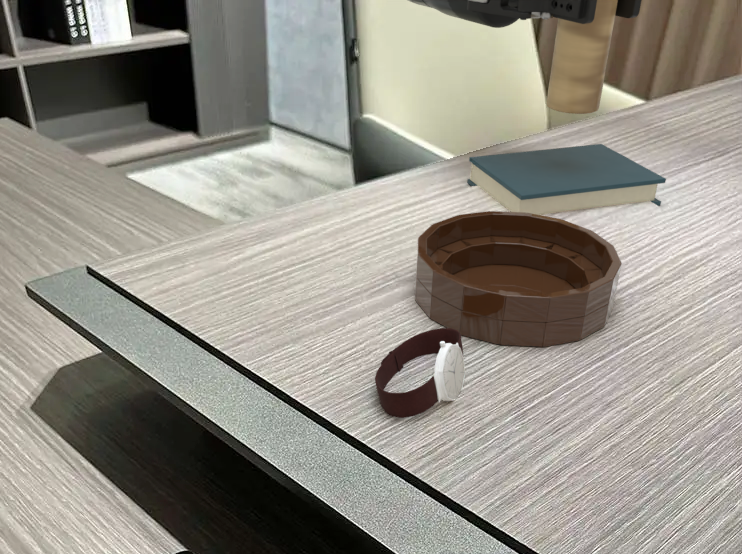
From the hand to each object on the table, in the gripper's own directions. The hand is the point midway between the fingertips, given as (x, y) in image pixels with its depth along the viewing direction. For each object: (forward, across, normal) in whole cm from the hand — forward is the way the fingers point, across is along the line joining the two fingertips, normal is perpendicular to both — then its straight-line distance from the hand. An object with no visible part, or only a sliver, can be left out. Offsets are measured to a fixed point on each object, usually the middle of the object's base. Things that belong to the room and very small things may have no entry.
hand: (614, 6), depth 64 cm
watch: (+16, -29, +16) cm, 37 cm away
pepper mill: (-3, 0, +8) cm, 9 cm away
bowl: (+11, -18, +16) cm, 26 cm away
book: (-3, 0, +16) cm, 17 cm away
